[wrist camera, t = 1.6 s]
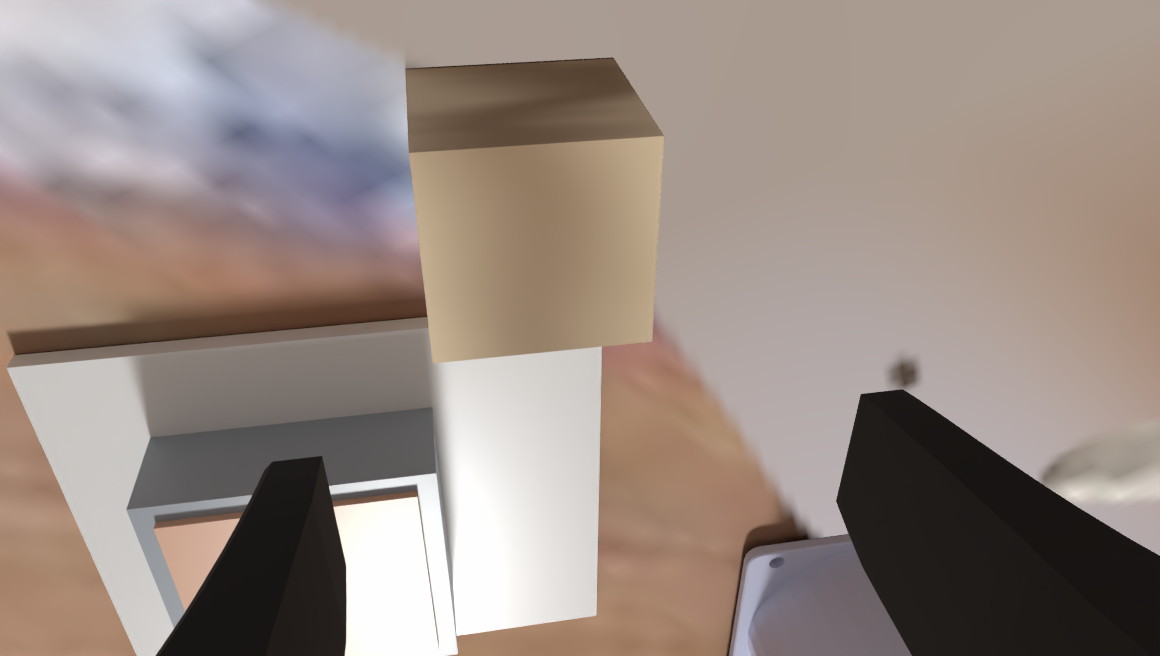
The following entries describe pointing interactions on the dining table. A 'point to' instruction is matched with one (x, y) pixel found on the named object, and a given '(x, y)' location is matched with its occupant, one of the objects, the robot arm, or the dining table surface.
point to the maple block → (534, 206)
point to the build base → (342, 372)
